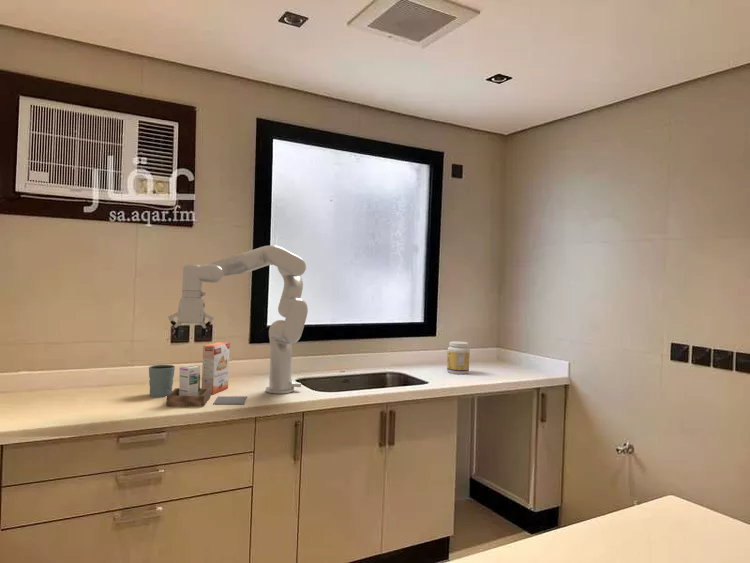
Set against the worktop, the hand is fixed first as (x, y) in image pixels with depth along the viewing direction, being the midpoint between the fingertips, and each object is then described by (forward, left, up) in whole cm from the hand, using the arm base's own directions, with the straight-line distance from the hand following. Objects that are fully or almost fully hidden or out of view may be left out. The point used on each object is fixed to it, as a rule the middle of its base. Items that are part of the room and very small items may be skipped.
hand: (190, 337), depth 208 cm
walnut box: (0, 0, -26) cm, 26 cm away
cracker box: (-7, -20, -26) cm, 33 cm away
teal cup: (+14, -13, -26) cm, 32 cm away
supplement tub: (-131, -65, -26) cm, 148 cm away
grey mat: (-16, -2, -26) cm, 31 cm away
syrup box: (0, 0, -26) cm, 26 cm away
